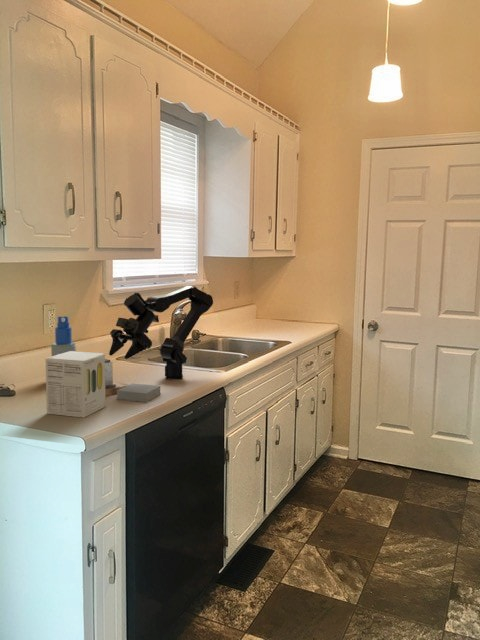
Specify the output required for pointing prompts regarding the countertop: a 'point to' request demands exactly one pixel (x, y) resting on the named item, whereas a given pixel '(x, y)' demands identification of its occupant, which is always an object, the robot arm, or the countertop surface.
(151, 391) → the block
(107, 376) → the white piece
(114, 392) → the tan wooden board
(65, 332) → the spray bottle
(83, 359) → the supplement box
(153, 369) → the countertop surface
